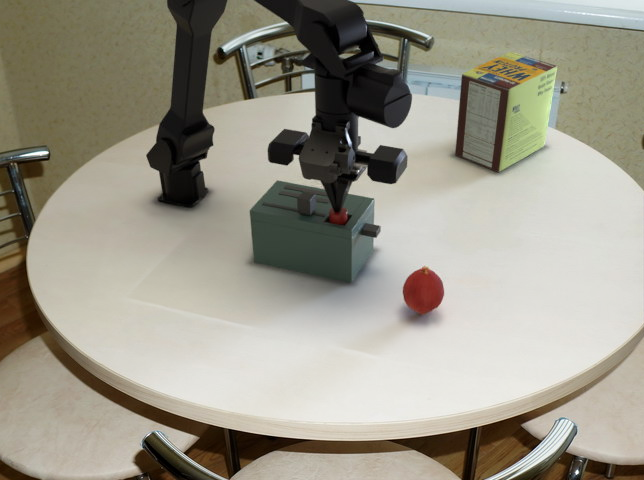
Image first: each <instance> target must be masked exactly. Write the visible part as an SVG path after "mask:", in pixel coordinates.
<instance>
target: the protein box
mask: <svg viewBox="0 0 644 480" xmlns="http://www.w3.org/2000/svg"><path fill="white" fill-rule="evenodd" d="M557 71H558V66H557V65H556V64H552V63H549V62H545V61H542V60H539V59H535V58H532V57H529V56H526V55H523V54H519V53H517V52H514V51H508V52H506V53H505V54H502V55H500V56H498V57H496V58H494V59H491V60H489V61H486V62H484V63H481V64H480V65H478V66H476V67H473V68H471V69H469V70H466V71H465V72H463V73H462V74H461V79H460V80H461V81H460V92H459V94H460V95H459V104H458V116H457V128H456V139H455V152H454V156H456V157H459V158H461V159H464V160H467V161H468V162H469V161H470V162H472V163H475V164H477V165H480V166H482V167H485V168H486V169H490V170H491V171H495V172H497V173H500V172H502V171H503V170H505V169H507V168H509V167H511V166H512V165H514V164H516V163H518V162H520V161H522V160H523V159H524V158H526V157H528V156H530V155H532V154H533V153H534V152H536V151H539V150H540V149H542V148H543V147H545V145H546V140H547V139H546V138H547V132H548V125H549V119H550V114H551V107H552V101H553V95H554V88H555V82H556V75H557Z"/></svg>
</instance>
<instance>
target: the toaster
mask: <svg viewBox="0 0 644 480" xmlns="http://www.w3.org/2000/svg"><path fill="white" fill-rule="evenodd" d="M303 191H306V192H311V193H316V209H315V210H314V211H313V213H312V214H311V215H305V214H300V213H298V208H297V198H298V197H299V196H300V194H301V193H302V192H303ZM343 207H344V208H345V209H347V224H346V225H345V226H343V225H338V224H333V223H329V210H330V209H331V208H332V205H331V203H330V201H329V198H328V196H327V193H326V191H325V189H324V188H322V187H321V188H320V187H315V186H310V185H304V184H299V183H293V182H288V181H283V180H279V179H278V180H276V181H275V182H274V183H273V184H272V185H271V186H270V188H269V189H267V191H266V192H265V193H264V194H263V195H262V196H261V197H260V198H259V199H258V200H257V202H255V204H254V205H253V206H252V207H250V209H249V220H250V230H251V231H250V232H251V243H252V244H251V245H252V255H253V263H256V264H260V265H265V266H269V267H275V268H279V269H284V270H288V271H292V272H293V271H294V272H298V273H303V274H307V275H311V276H317V277H322V278H327V279H331V280H335V281H340V282H345V283H349V284H352V283H353V282H354V280H355V278H356V277H357V276H358V274H359V272H361V269H362V268H363V266H364V265H365V263H366V262H367V260H368V259H369V257H370V255H371V254H372V253H373V251H374V238H375V239H377V238H378V237H379V235H380V233H381V231H382V229H381V228H382V226H381V225H378V224H375V198H374V197H369V196H364V195H358V194H352V193H348V194H347V197H346V200H345V202H344V205H343Z"/></svg>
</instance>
